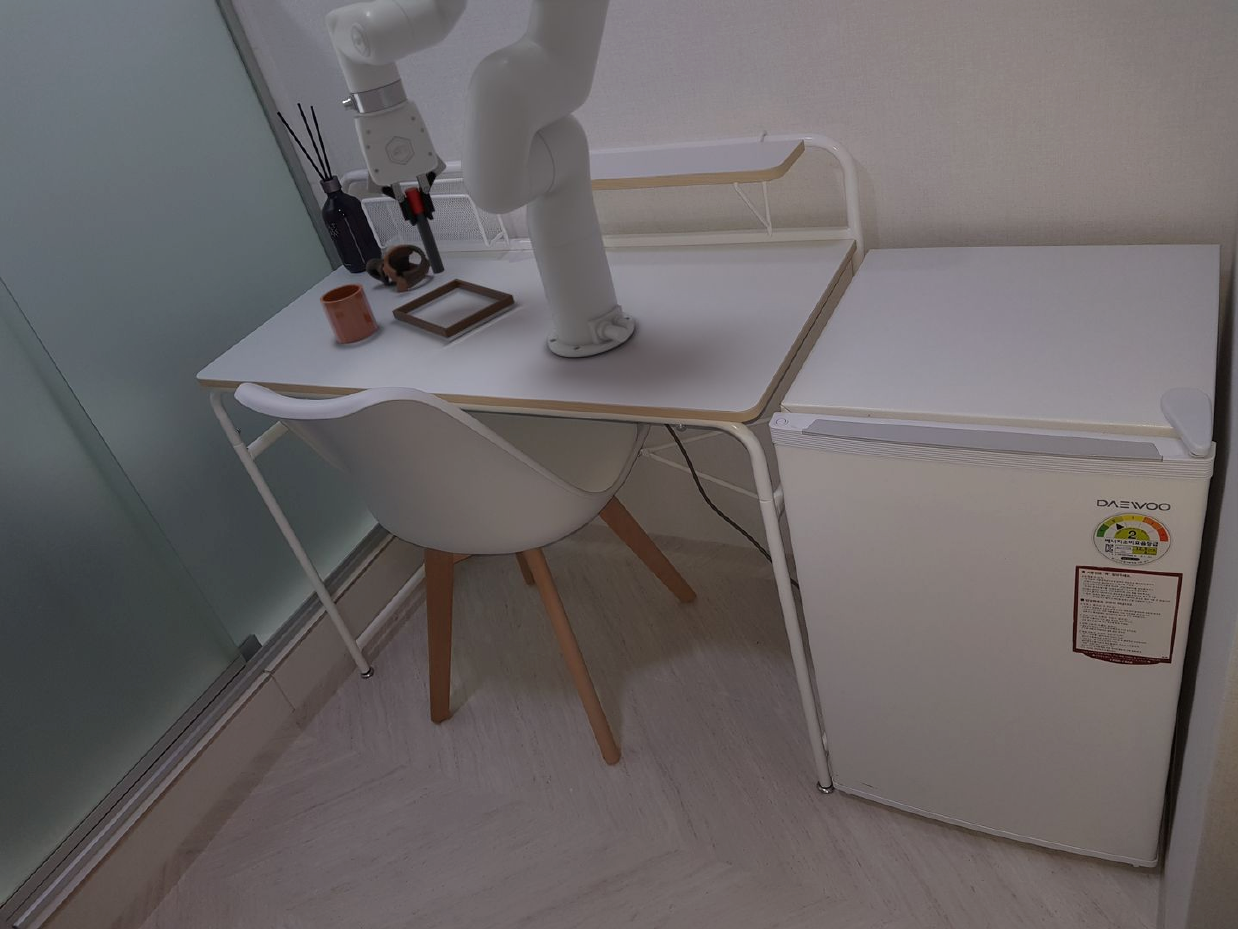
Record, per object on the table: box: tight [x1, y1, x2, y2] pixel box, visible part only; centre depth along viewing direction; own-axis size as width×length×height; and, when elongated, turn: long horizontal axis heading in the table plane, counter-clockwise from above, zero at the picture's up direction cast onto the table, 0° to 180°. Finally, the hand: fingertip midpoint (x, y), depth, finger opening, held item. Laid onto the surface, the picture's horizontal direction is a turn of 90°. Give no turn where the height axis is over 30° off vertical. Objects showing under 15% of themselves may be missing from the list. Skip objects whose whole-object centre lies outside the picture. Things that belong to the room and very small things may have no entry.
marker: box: [404, 186, 446, 275], centre depth 144 cm, size 2×2×14 cm
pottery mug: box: [365, 244, 431, 293], centre depth 166 cm, size 12×10×8 cm
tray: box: [391, 278, 517, 343], centre depth 151 cm, size 17×13×2 cm
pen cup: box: [319, 283, 379, 344], centre depth 150 cm, size 7×7×8 cm
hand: (421, 219), depth 143 cm, fingers closed on marker, 2 cm apart
